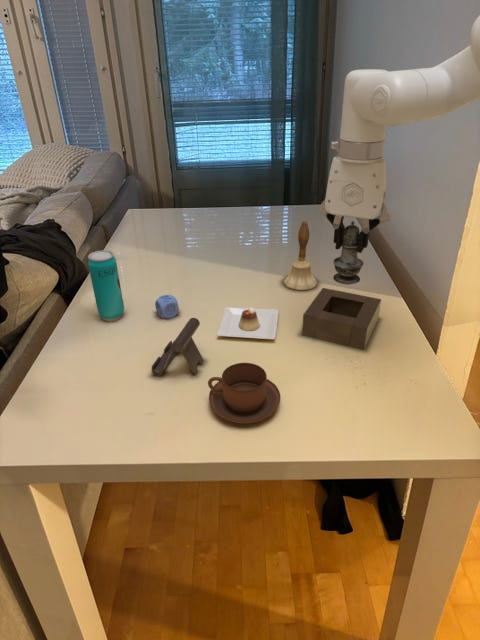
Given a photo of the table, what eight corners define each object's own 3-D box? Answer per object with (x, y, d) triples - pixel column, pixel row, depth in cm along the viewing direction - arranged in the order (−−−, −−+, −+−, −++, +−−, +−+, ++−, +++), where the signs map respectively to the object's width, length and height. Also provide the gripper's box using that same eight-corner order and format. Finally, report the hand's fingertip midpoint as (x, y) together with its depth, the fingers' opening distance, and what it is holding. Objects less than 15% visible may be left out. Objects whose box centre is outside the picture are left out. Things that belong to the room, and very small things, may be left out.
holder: (378, 319, 102) (381, 299, 100) (364, 349, 92) (367, 328, 90) (321, 306, 107) (322, 287, 105) (302, 335, 97) (303, 314, 95)
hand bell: (298, 273, 123) (301, 214, 114) (323, 282, 118) (328, 221, 109) (277, 283, 118) (278, 222, 110) (302, 294, 113) (306, 231, 104)
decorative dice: (172, 308, 108) (170, 292, 106) (179, 315, 105) (178, 299, 103) (156, 313, 106) (154, 297, 104) (163, 320, 103) (161, 304, 101)
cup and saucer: (213, 434, 73) (211, 404, 70) (206, 386, 84) (204, 358, 80) (287, 424, 75) (289, 395, 72) (271, 378, 85) (272, 351, 82)
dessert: (216, 339, 96) (215, 320, 94) (226, 310, 106) (225, 292, 104) (274, 343, 95) (275, 323, 92) (278, 313, 105) (279, 295, 102)
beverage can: (128, 318, 104) (118, 256, 97) (103, 325, 102) (90, 262, 94) (120, 307, 109) (110, 247, 101) (96, 314, 106) (83, 253, 98)
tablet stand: (171, 349, 94) (166, 313, 89) (207, 354, 92) (205, 318, 88) (152, 375, 87) (146, 337, 82) (191, 382, 85) (188, 344, 80)
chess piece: (366, 283, 92) (374, 224, 86) (338, 286, 91) (344, 227, 85) (354, 270, 97) (360, 214, 90) (327, 274, 96) (332, 217, 89)
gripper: (308, 150, 81) (302, 249, 91) (406, 158, 75) (389, 263, 84) (321, 143, 87) (315, 236, 96) (413, 149, 81) (397, 248, 90)
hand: (350, 247), depth 90 cm, fingers closed on chess piece, 3 cm apart
